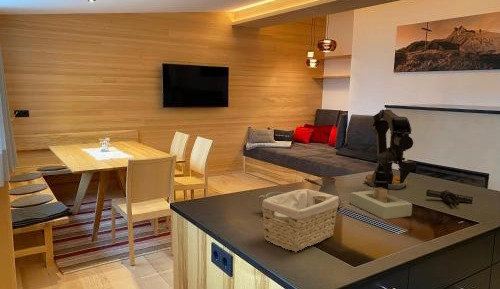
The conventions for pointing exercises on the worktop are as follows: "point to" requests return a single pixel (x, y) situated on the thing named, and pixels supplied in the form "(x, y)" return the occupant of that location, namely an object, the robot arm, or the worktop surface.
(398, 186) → the pie
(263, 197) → the teacup
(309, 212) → the storage basket
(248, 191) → the worktop surface
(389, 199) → the well box
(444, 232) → the worktop surface
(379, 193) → the wooden block
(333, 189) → the coffee pot
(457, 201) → the black irregular piece
